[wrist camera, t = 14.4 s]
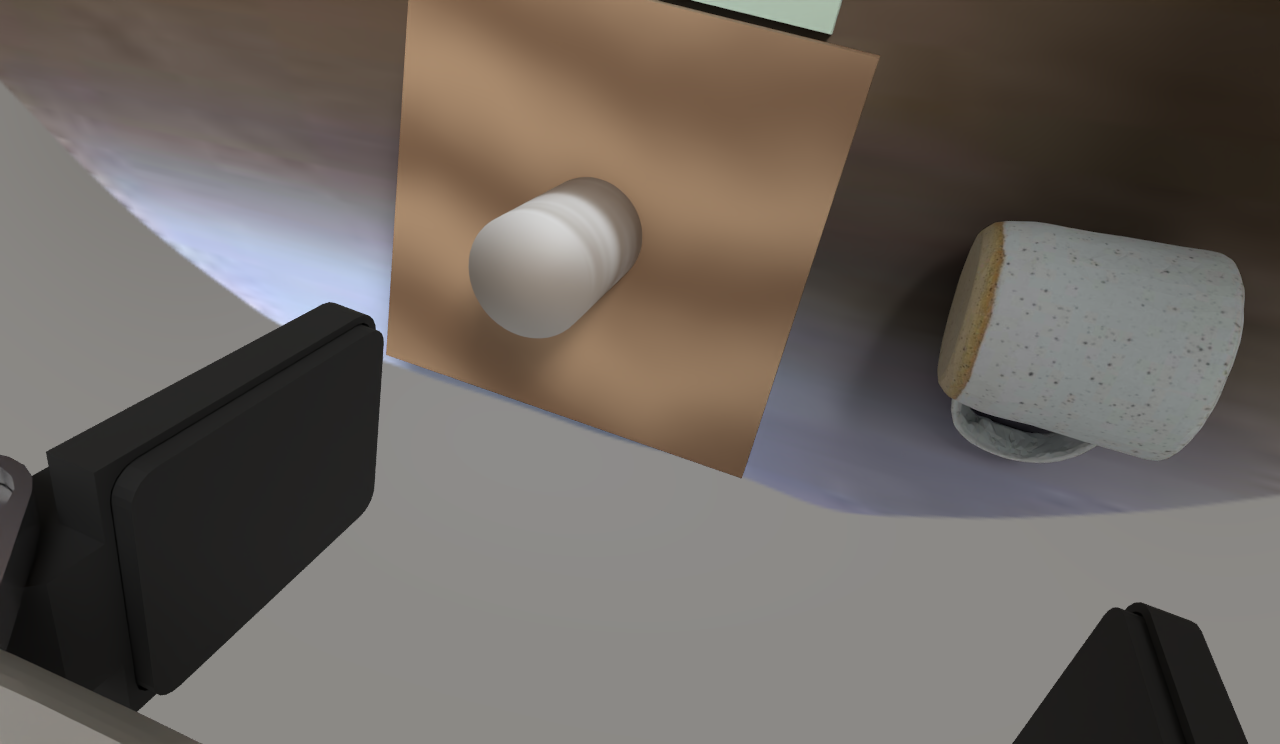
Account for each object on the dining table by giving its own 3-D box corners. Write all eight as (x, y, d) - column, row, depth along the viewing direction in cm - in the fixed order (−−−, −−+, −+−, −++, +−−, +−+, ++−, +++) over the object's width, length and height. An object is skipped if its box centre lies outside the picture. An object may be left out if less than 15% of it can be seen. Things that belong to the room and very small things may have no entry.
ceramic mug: (975, 192, 32) (992, 248, 25) (1203, 228, 30) (1286, 298, 23) (909, 420, 37) (909, 517, 30) (1102, 463, 35) (1147, 575, 28)
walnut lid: (430, -56, 28) (303, -72, 22) (880, 55, 25) (872, 72, 20) (401, 344, 36) (300, 412, 30) (746, 463, 33) (711, 564, 27)
